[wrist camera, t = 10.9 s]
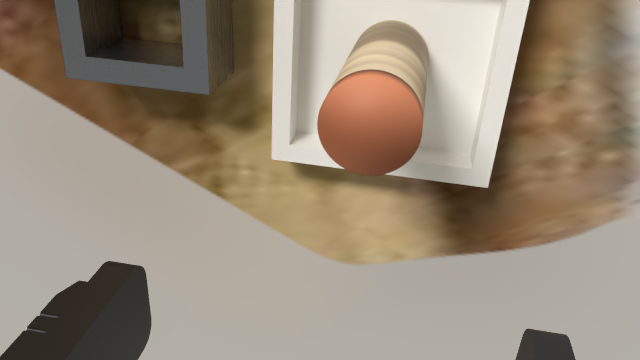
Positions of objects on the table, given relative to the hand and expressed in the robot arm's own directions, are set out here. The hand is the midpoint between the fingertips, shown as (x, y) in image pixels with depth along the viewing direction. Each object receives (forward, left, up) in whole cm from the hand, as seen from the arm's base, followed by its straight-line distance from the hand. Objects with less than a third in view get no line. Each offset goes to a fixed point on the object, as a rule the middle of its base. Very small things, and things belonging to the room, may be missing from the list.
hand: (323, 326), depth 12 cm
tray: (0, 0, -22) cm, 22 cm away
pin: (0, 0, -21) cm, 21 cm away
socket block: (-2, -13, -22) cm, 25 cm away
